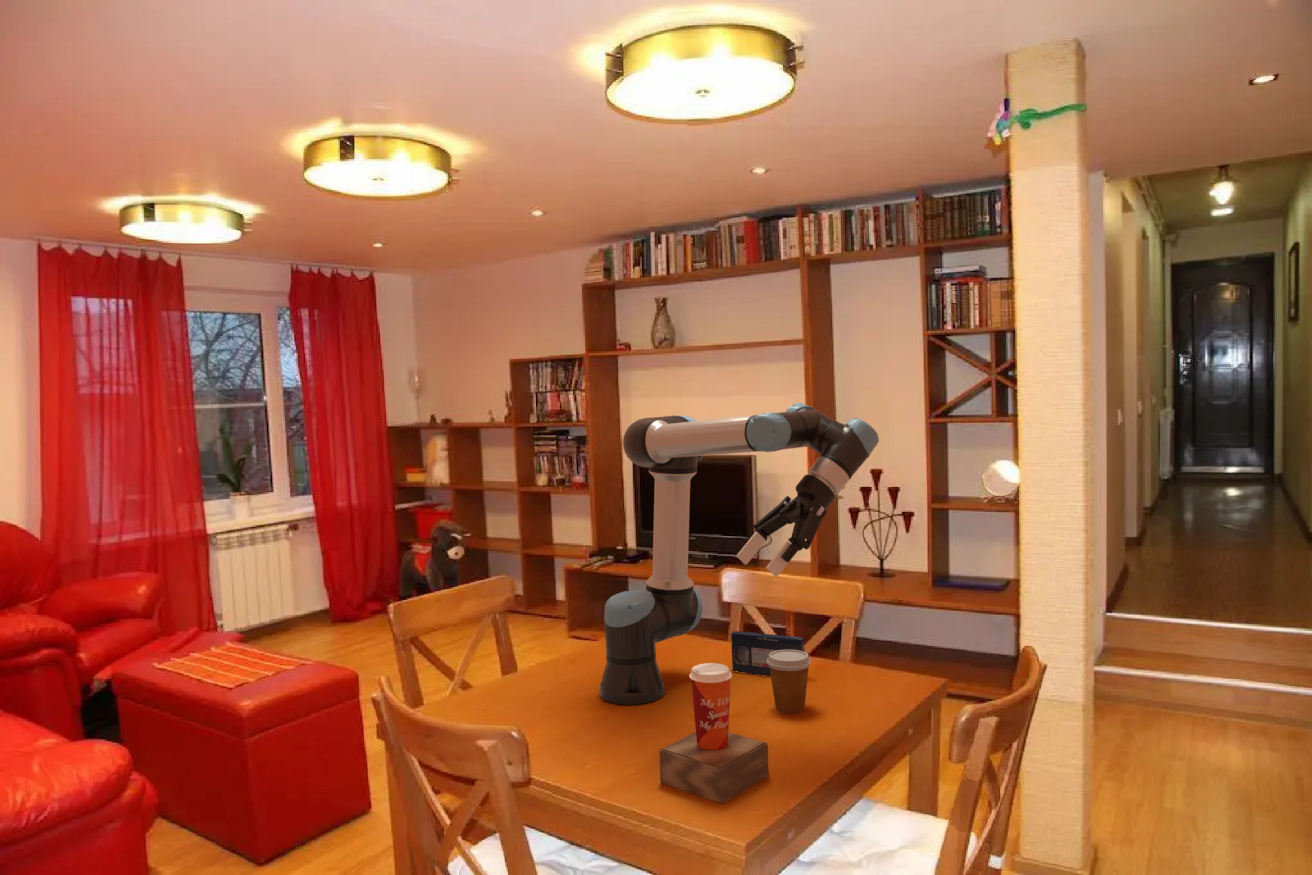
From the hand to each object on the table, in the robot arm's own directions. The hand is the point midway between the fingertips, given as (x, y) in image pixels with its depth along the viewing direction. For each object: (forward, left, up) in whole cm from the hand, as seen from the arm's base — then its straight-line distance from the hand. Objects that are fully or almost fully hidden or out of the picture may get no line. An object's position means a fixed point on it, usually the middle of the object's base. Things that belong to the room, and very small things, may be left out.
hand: (755, 566), depth 175 cm
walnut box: (+2, -18, -36) cm, 40 cm away
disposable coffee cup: (-6, +20, -36) cm, 42 cm away
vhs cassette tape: (-23, +37, -36) cm, 57 cm away
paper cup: (+2, -18, -30) cm, 34 cm away
